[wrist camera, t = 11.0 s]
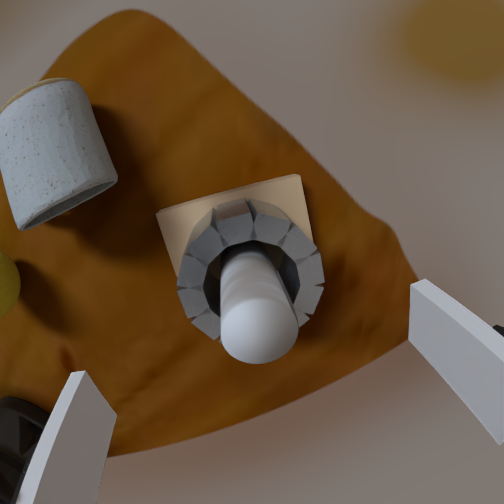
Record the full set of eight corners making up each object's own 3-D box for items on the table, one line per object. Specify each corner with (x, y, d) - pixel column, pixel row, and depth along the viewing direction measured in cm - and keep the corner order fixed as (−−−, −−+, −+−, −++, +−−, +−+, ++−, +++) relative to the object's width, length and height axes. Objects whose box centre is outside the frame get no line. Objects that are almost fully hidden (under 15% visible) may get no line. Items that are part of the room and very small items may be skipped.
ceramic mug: (97, 81, 17) (43, 57, 10) (134, 175, 20) (88, 190, 13) (4, 150, 18) (-56, 160, 10) (36, 233, 20) (-20, 266, 13)
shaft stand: (196, 315, 24) (185, 420, 13) (160, 209, 21) (105, 266, 10) (316, 284, 24) (373, 372, 14) (294, 173, 21) (362, 197, 10)
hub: (207, 317, 22) (204, 358, 18) (172, 217, 20) (157, 237, 15) (309, 290, 22) (330, 325, 18) (288, 186, 20) (309, 197, 15)
